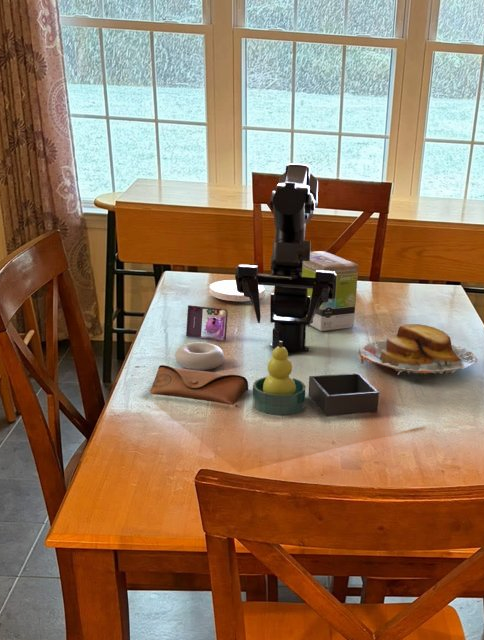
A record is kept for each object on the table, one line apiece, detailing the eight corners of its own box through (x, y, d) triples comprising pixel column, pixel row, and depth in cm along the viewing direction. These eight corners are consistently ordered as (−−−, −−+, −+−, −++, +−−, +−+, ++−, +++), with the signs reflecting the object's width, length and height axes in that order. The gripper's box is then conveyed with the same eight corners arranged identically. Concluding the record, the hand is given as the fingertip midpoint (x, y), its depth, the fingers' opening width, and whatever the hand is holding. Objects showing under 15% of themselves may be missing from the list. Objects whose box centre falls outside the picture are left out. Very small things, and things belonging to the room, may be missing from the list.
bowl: (255, 397, 157) (255, 374, 155) (305, 400, 158) (306, 378, 155) (250, 417, 149) (250, 393, 147) (303, 420, 150) (304, 397, 147)
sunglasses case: (143, 395, 153) (148, 359, 153) (155, 401, 160) (160, 367, 160) (238, 407, 152) (242, 370, 151) (245, 412, 159) (250, 378, 158)
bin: (308, 399, 158) (309, 376, 156) (357, 395, 162) (358, 372, 159) (325, 420, 151) (327, 396, 148) (377, 415, 154) (379, 392, 151)
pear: (283, 396, 157) (285, 334, 150) (301, 407, 153) (303, 344, 146) (256, 401, 154) (257, 338, 147) (273, 413, 150) (275, 348, 143)
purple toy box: (186, 304, 181) (226, 309, 180) (193, 306, 186) (232, 311, 185) (185, 336, 183) (224, 340, 182) (191, 337, 188) (230, 341, 187)
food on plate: (346, 374, 171) (348, 343, 167) (372, 339, 191) (375, 311, 188) (467, 393, 166) (472, 361, 163) (481, 355, 187) (486, 326, 183)
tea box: (355, 327, 197) (360, 263, 189) (320, 332, 192) (323, 267, 184) (321, 310, 207) (324, 248, 199) (287, 314, 202) (289, 251, 194)
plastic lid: (275, 299, 212) (276, 289, 211) (235, 308, 203) (235, 298, 202) (239, 286, 220) (239, 277, 218) (198, 295, 211) (198, 285, 209)
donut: (167, 369, 167) (215, 375, 165) (166, 352, 165) (214, 358, 163) (185, 353, 175) (230, 359, 173) (184, 337, 173) (230, 343, 172)
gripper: (236, 218, 148) (229, 297, 145) (339, 226, 148) (334, 305, 145) (240, 253, 159) (234, 328, 155) (337, 260, 159) (332, 335, 156)
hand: (283, 323), depth 153 cm, fingers open, 9 cm apart
